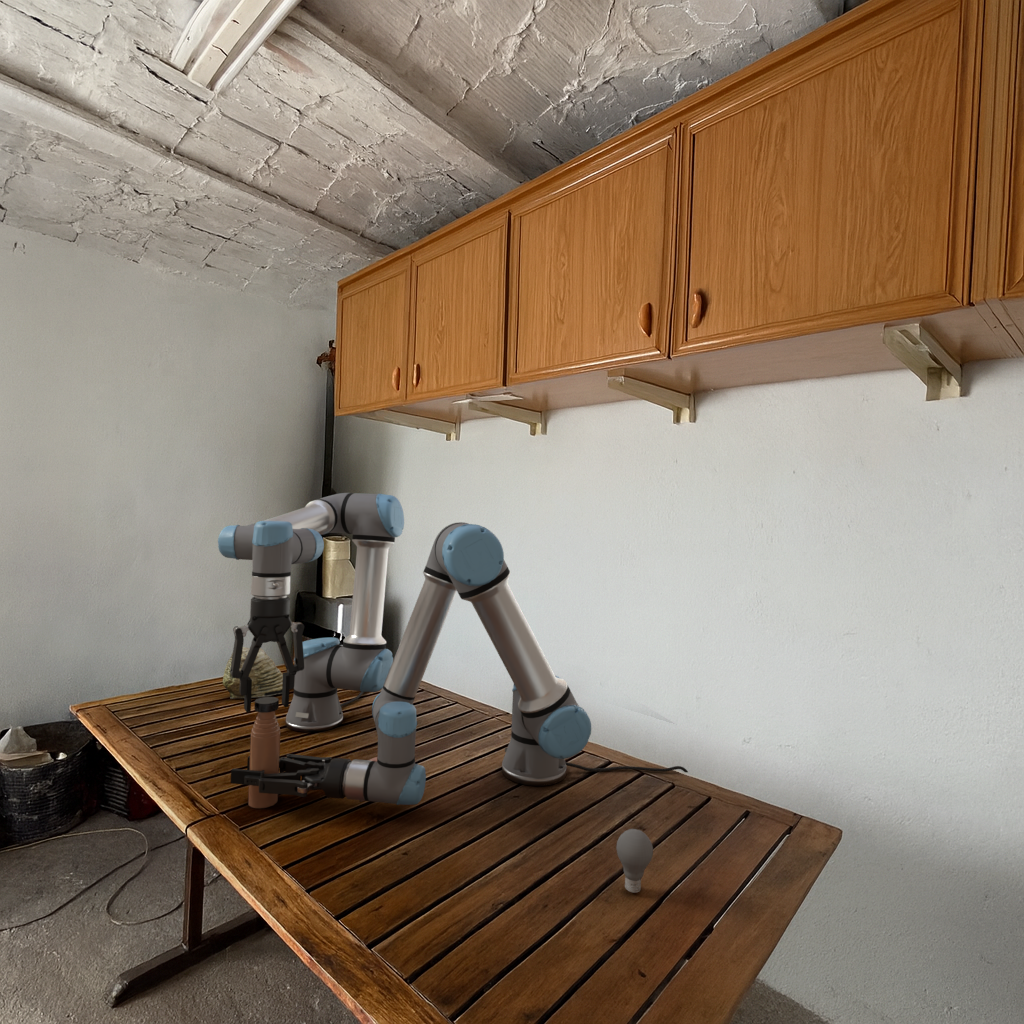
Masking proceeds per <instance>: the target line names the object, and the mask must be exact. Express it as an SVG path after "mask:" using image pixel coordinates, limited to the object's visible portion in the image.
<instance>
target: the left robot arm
mask: <svg viewBox="0 0 1024 1024" xmlns="http://www.w3.org/2000/svg"><path fill="white" fill-rule="evenodd" d="M404 514H405V513H404V510H403V507H402V504H401V502H400V499H398V498H397V497H396V496H395V495H392V494H386V493H360V492H357V493H356V492H341V493H340V492H339V493H335V494H331V495H328V496H324V497H321V498H317V499H314V500H311V501H309V502H308V503H307V504H306V505H305V506H304V507H301V508H299V509H295V510H292V511H289V512H286V513H283V514H280V515H276V516H274V517H270V518H268V519H264V520H259V521H257V522H254V523H251V524H247V525H240V524H235V525H234V524H233V525H227V526H224V527H223V528H222V529H221V531H220V533H219V534H218V538H217V544H218V545H217V548H218V551H219V553H220V554H221V556H223V557H225V558H227V559H235V560H236V561H240V560H241V561H242V560H245V561H252V569H251V570H252V571H251V585H250V594H251V595H252V596H253V597H251V598H250V610H249V611H250V612H249V613H250V614H249V620H248V622H247V624H245V625H241V626H237V625H236V626H234V627H233V628H232V632H233V636H234V643H233V649H232V653H233V655H232V654H231V655H232V662H231V669H230V674H231V675H232V677H233V678H239V679H240V685H239V686H240V687H239V692H240V694H241V695H242V696H243V695H244V698H243V699H244V700H243V709H244V711H245V712H246V713H251V712H252V698H251V692H252V679H251V678H250V677H248V676H249V674H250V672H251V669H252V667H253V664H254V662H255V659H256V657H257V654H258V652H259V649H260V648H261V649H262V647H263V644H266V643H269V642H272V643H276V644H277V647H278V649H279V652H280V655H281V658H282V660H283V663H284V664H283V665H284V666H285V667H284V668H285V669H286V671H285V672H282V675H283V683H282V693H281V704H282V706H283V707H284V708H288V711H287V713H286V715H285V726H286V728H287V729H289V730H291V731H294V732H295V731H296V732H301V733H316V732H325V731H329V730H332V729H335V728H337V727H339V726H340V725H342V723H343V722H344V714H343V709H342V707H344V706H347V705H350V704H352V703H354V702H355V701H357V700H359V699H360V698H361V697H362V695H363V694H364V693H377V692H379V691H381V690H382V688H383V686H384V683H385V680H386V678H387V675H388V673H389V670H390V667H391V665H392V662H393V660H394V657H393V652H392V651H391V650H390V649H388V648H387V640H386V639H385V638H384V637H383V635H382V634H383V633H382V631H383V620H384V609H385V595H386V584H387V573H388V559H389V550H390V548H391V547H393V546H394V545H395V541H396V538H398V537H400V536H401V535H402V534H403V530H404V527H405V515H404ZM326 534H346V535H352V538H351V541H352V542H353V544H354V545H355V546H356V556H355V567H354V580H353V590H352V600H351V601H352V603H351V614H350V625H349V634H348V635H347V636H346V637H345V638H344V639H343V641H342V644H340V643H341V641H340V639H339V638H338V637H334V636H333V637H318V638H313V639H307V640H304V641H303V633H304V630H305V625H304V624H303V623H302V622H300V621H296V622H294V621H292V620H291V618H290V611H291V610H290V608H291V598H290V597H289V595H290V594H291V575H292V565H297V564H303V563H304V564H308V563H310V562H313V561H316V560H317V559H318V558H319V557H321V555H322V554H323V552H324V549H325V543H324V539H323V536H324V535H326ZM322 535H323V536H322ZM290 628H291V629H290ZM289 630H291V632H292V638H293V639H292V640H293V651H294V659H292V656H291V653H290V651H289V648H288V645H287V641H286V638H285V635H286V634H287V632H288V631H289ZM248 631H249V632H250V633H251V635H252V636H253V637H252V640H251V645H250V646H249V648H250V649H249V652H248V654H247V656H246V659H245V661H244V664H243V666H242V669H241V671H239V670H240V663H241V656H242V649H243V647H244V642H245V637H246V636H247V633H248ZM293 661H294V662H293ZM290 690H293V695H292V696H293V697H292V699H291V702H290ZM338 690H347V691H354V692H355V691H357V692H359V694H358V695H357V696H355V697H354V698H351V699H350V700H348V701H345V702H343V703H341V702H340V699H339V695H338Z"/></svg>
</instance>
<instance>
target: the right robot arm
mask: <svg viewBox="0 0 1024 1024" xmlns="http://www.w3.org/2000/svg"><path fill="white" fill-rule="evenodd" d="M504 553H505V552H504V548H503V545H502V543H501V541H500V539H499V538H498V537H497V536H496V534H495V533H493V531H491V530H489V529H488V528H487V527H485V526H482V525H479V524H476V523H475V524H473V523H468V522H461V521H460V522H453V523H450V524H448V525H446V526H445V527H443V528H442V529H441V530H440V531H439V532H438V534H437V535H436V537H435V539H434V541H433V544H432V547H431V549H430V552H429V556H428V558H427V561H426V564H425V566H424V570H423V572H422V574H423V576H424V578H425V579H424V581H423V584H422V587H421V590H419V591H420V592H419V594H418V597H417V599H416V602H415V604H414V607H413V610H412V612H411V613H410V617H409V620H408V622H407V625H406V627H405V630H404V631H403V634H402V638H401V639H400V642H399V645H398V647H397V650H396V653H395V655H394V657H393V662H392V665H391V667H390V670H389V673H388V675H387V678H386V680H385V683H384V686H383V688H382V689H381V690H380V692H379V693H378V694H377V695H376V697H375V698H374V700H373V702H372V707H371V715H372V719H373V721H374V724H375V729H376V735H377V756H376V757H377V761H369V760H370V759H358V758H357V759H356V758H355V759H352V760H351V759H350V758H341V757H334V758H332V757H331V756H322V757H321V756H312V755H302V754H293V753H288V754H286V756H282V757H279V773H273V774H264V770H262V771H255V770H249V766H250V755H248V756H247V764H246V765H247V766H246V769H242V768H231V770H230V784H234V785H242V786H243V785H244V786H249V785H253V786H259V793H269V794H278V795H286V796H287V795H288V796H297V797H300V798H306V797H308V792H309V791H321V790H322V791H323V792H324V795H325V797H327V798H328V799H339V800H344V799H345V798H346V800H353V801H359V802H360V803H363V802H372V803H383V804H391V805H396V806H400V805H401V806H412V805H413V806H415V805H418V804H419V803H420V802H421V801H422V799H423V796H424V793H425V788H426V781H427V774H426V767H425V766H423V765H421V764H418V763H416V756H415V754H416V738H417V727H418V720H417V707H416V706H415V705H414V702H415V698H416V696H417V693H418V691H419V688H420V685H421V683H422V681H423V678H424V675H425V674H426V671H427V668H428V665H429V662H430V661H431V658H432V655H433V652H434V650H435V648H436V645H437V643H438V640H439V637H440V635H441V632H442V630H443V627H444V625H445V622H446V620H447V617H448V615H449V612H450V609H451V607H452V605H453V602H454V599H455V597H456V595H457V594H458V596H459V598H460V599H461V600H463V601H465V602H466V601H467V602H470V603H471V604H472V607H473V609H474V610H475V612H476V614H477V616H478V618H479V620H480V622H481V624H482V625H483V628H484V629H485V632H486V633H487V635H488V637H489V639H490V641H491V643H492V645H493V647H494V648H495V650H496V652H497V654H498V656H499V659H500V660H501V662H502V664H503V666H504V667H505V670H506V671H507V674H508V675H509V677H510V679H511V681H512V683H513V687H512V704H511V706H512V707H511V727H510V728H511V729H510V730H511V732H510V740H509V742H508V745H507V747H504V756H503V759H502V761H501V762H502V763H501V772H502V775H503V776H504V777H505V778H507V779H508V780H510V781H512V782H514V783H517V784H521V785H525V786H532V787H543V786H551V785H555V784H557V783H560V782H562V781H564V779H565V778H566V776H567V767H571V768H576V769H580V770H583V771H586V772H592V773H593V772H595V773H598V772H599V773H601V772H611V771H621V770H632V771H644V772H645V771H646V772H658V773H660V772H661V773H667V772H671V771H675V770H681V771H682V772H684V773H689V771H688V769H686V768H685V767H684V766H681V765H675V766H671V767H666V768H659V767H645V766H633V765H632V766H631V765H627V766H626V765H622V766H620V765H619V766H610V767H602V768H601V767H600V768H599V767H598V768H592V767H586V766H583V765H581V764H575V763H572V762H568V761H566V760H567V759H569V758H573V757H574V756H576V755H578V754H579V753H580V752H582V751H583V749H584V748H585V747H587V744H588V742H589V740H590V737H591V736H592V735H591V734H592V721H591V719H590V716H589V715H588V712H587V711H586V710H585V709H584V708H583V707H581V706H580V705H579V703H578V702H577V701H576V698H575V696H574V695H573V693H572V691H571V688H570V686H569V684H568V683H567V681H566V680H565V679H563V678H561V676H559V675H555V673H554V671H553V669H552V666H551V665H550V663H549V660H548V659H547V658H546V657H547V656H546V655H545V652H544V650H543V649H542V647H541V645H540V643H539V641H538V639H537V637H536V635H535V633H534V631H533V630H532V627H531V626H530V624H529V622H528V620H527V618H526V616H525V614H524V612H523V611H522V608H521V606H520V604H519V601H518V600H517V599H516V596H515V594H514V592H513V591H512V588H511V586H510V585H509V579H510V576H511V571H510V569H509V567H508V564H507V563H506V561H505V554H504Z"/></svg>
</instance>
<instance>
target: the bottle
mask: <svg viewBox="0 0 1024 1024" xmlns="http://www.w3.org/2000/svg"><path fill="white" fill-rule="evenodd" d="M249 741H250V743H249V756H250V766H249V770H255V771H262V770H264V774H273V773H279V770H280V768H279V759H280V758H281V757H280V755H281V753H280V752H281V727H280V724H279V722H278V719H277V715H276V711H273V712H267V713H261V712H257V716H256V718H255V720H254V724H253V725H252V728H251V732H250V740H249ZM247 795H248V797H247V800H248V801H247V804H248V806H249V807H250V808H253V809H266V808H269V807H272V806H275V805H276V804H277V803H278V801H279V794H269V793H259V786H253V785H248V794H247Z"/></svg>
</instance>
